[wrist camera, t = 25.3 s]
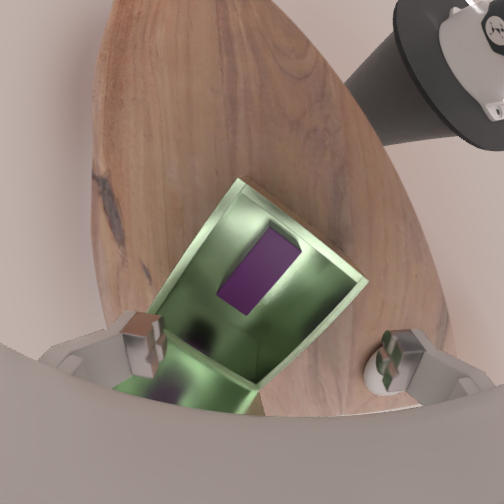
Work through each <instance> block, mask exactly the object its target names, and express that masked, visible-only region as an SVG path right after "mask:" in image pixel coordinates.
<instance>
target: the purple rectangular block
mask: <svg viewBox="0 0 504 504" xmlns="http://www.w3.org/2000/svg"><path fill="white" fill-rule="evenodd" d="M301 253H302V250H301V248H300V245H299V243H297V242H296V241H295V240H293V239H292V238H291V237H290V236H288V235H287V234H286V233H284V232H283V231H282V230H281V229H279V228H278V227H277V226H275V225H274V224H273V223H272V222H269V223H268V224H267V225H266V226H265V228H264V229H263V230H262V231H261V233H260V234H259V235H258V237H257V238H256V239H255V240H254V242H253V243H252V244H251V245H250V247H249V248H248V249H247V250H246V252H245V253H244V254H243V255H242V257H241V258H240V259H239V261H238V262H237V263H236V264H235V266H234V267H233V268H232V269H231V271H230V272H229V273H228V275H227V276H226V277H225V278H224V280H223V281H222V282H221V283H220V286H219V288H218V291H217V293H216V295H217V296H218V297H219V298H221V299H222V300H224V301H225V302H227V303H228V304H230V305H231V306H232V307H234V308H235V309H237V310H238V311H240V312H241V313H243V314H244V315H246V316H247V315H248V314H249V313H250V312H251V311H252V310H253V308H254V307H255V306H256V305H257V304H258V303H259V302H260V301H261V299H262V298H263V297H264V296H265V295H266V294H267V293H268V291H269V290H270V289H271V288H272V287H273V286H274V285H275V283H276V282H277V281H278V280H279V279H280V278H281V276H282V275H283V274H284V273H285V272H286V271H287V269H288V268H289V267H290V266H291V265H292V264H293V262H294V261H295V260H296V259H297V258H298V256H299V255H300V254H301Z"/></svg>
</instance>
